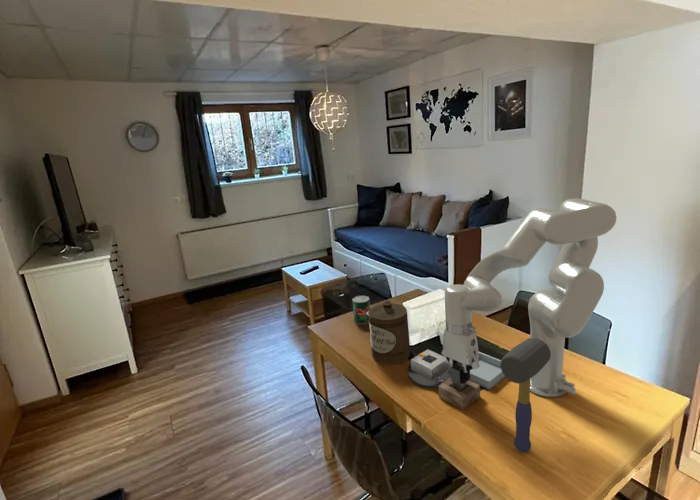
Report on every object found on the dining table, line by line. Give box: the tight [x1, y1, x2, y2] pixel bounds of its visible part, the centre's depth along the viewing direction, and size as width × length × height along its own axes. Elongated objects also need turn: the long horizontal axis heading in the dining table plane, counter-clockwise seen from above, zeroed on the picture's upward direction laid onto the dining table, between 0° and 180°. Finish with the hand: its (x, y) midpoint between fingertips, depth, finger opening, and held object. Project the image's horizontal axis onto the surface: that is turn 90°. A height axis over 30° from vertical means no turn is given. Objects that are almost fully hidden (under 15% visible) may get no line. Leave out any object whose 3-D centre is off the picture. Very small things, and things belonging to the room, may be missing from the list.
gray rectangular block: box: [451, 362, 468, 392], centre depth 121 cm, size 6×3×10 cm, turn 130°
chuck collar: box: [410, 349, 449, 380], centre depth 133 cm, size 9×9×4 cm
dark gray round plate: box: [407, 363, 451, 389], centre depth 134 cm, size 15×15×2 cm
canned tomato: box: [352, 295, 371, 326], centre depth 179 cm, size 8×8×11 cm
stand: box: [437, 377, 481, 411], centre depth 122 cm, size 9×9×4 cm
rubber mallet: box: [500, 337, 551, 454], centre depth 96 cm, size 12×8×30 cm, turn 130°
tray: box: [469, 350, 506, 391], centre depth 133 cm, size 14×14×3 cm
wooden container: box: [368, 300, 411, 365], centre depth 147 cm, size 15×15×22 cm
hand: (460, 378), depth 121 cm, fingers closed on gray rectangular block, 3 cm apart
